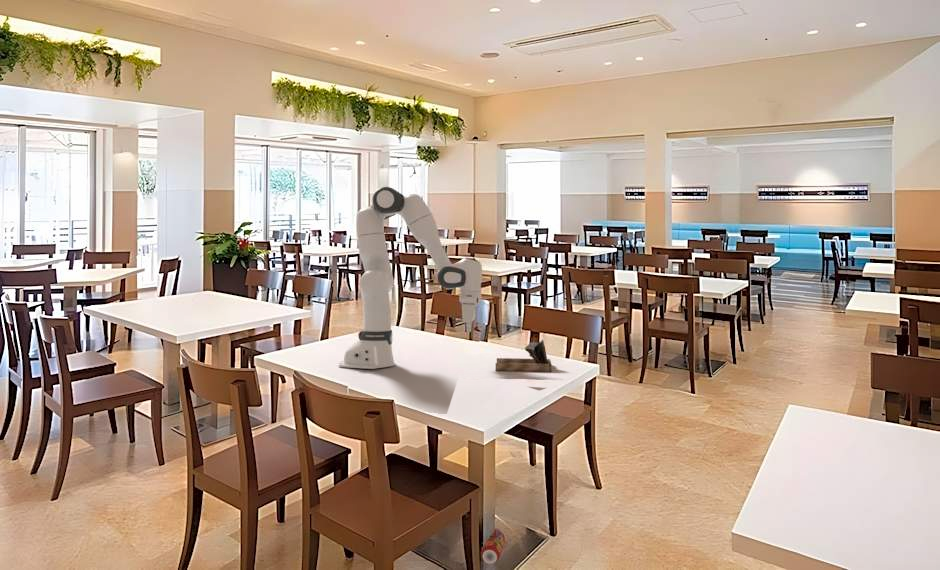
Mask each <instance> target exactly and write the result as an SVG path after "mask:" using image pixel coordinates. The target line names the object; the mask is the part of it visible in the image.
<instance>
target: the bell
mask: <svg viewBox="0 0 940 570" xmlns="http://www.w3.org/2000/svg"><path fill="white" fill-rule="evenodd" d="M524 350H525V351H526V352H527V353H528V356H529V357H531V359H534V360H535V362H536V363H538V364H548V360H547V359H548V358H547V357H548V356H547V352H546V345H545V341H544V339H542V340H541V341H538V342H530V343H529V344H527V345H526V346H525V347H524Z"/></svg>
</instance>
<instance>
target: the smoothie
mask: <svg viewBox="0 0 940 570" xmlns="http://www.w3.org/2000/svg"><path fill="white" fill-rule="evenodd" d="M505 543H506V534H505V533H504V531H503V530H502V529H501V528H498V527H494V533H492V535H491V536H490V538H489V539H488V540H487V541H486V543H485V544H484V546H483V547H482V546H481V551H480V556H481V559H482V560H483V562H484V563H486V564H488V565H494V564H496V563H497V562H498V561H499V559H500V556H501V554H502V551H503V548H504V546H505Z"/></svg>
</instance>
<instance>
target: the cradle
mask: <svg viewBox="0 0 940 570" xmlns="http://www.w3.org/2000/svg"><path fill="white" fill-rule="evenodd" d="M547 360H548V364H538V363H536V362H535V360H534V359H533V358H520V357H518V358H513V357H512V358H511V357H510V358H509V357H507V358H505V357H496V362H495V371H496V372H525V373H526V372H528V373H529V372H531V373H537V372H538V373H552V368H553V367H552V362H551V359H550V358H547Z"/></svg>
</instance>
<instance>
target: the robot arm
mask: <svg viewBox="0 0 940 570" xmlns="http://www.w3.org/2000/svg"><path fill="white" fill-rule="evenodd" d="M372 195H373V196H372V199H371V201H372V204H371V205H370V206H368V207H367V206H366V207H363V208H361V209H360V210H358V212H357V214H356V220H355V221H356V222H355V223H356V224H355V226H356V227H355V228H356V240H357V245H358V247H357V248H358V252H359V257H360V260H361V263H362V266H363V270H364V273H363V274H362V275H361V277H360V278H359V288H360V295H361V302H362V303H361V304H362V310H363V311H362V312H363V317H362V318H363V329H362V330H360V331H359V332H358V334H357V337H358V340H356V341H355V342H354V343H353V344H351V345H350V346H349V347H348V348H347V349H346V350H345V352H344V357H343V360H342V361H340V362H338V367H339V368H350V369H351V368H352V369H353V368H354V369H370V370H372V369H373V370H375V369H380V368H388V367H393V366H395V365H396V363H395V359H394V354H393V345H392V344H393V330H392V309H391V304H390V295H389V293H390V292H391V291H392V290H393V289H394V285H395V280H394V276H393V271H392V266H391V262H390V259H389V254H388V248H387V241H386V235H385V228H384V222H385V220H387V219H389V218H391V217H394V216H395V215H396V214H397V215H399V216H401V218H402V219H403V220H404V222H405V224H406V226H407V229H408V230H409V232H410V233H411V234H412V236H413V237H414V239H415V240H416V241H417V242H418V243H420V245H421V246H423V248H425V250H426V251H427V252H428V254H429V255H430V257H431V260H432V261H433V263H434V265H435V267H436V270H437V281H438V283H439V285H440V286H441V287H443V288H444V289H445V290H454V289H456V288H459V301H458V302H460V304H461V314H462V322H463V323H465V327H466V328H465V329H466V331H465V332H466V333H471V332H472V326H473V321H475V319H476V312H477V311H476V310H477V309H476V308H477V307H478V306H479V305H478V304H481V303H482V282H483V266H482V263H481V262H480V261H479V260H478V259H475V258H470V257H463V258H462V259H461V260H459V261H457V262H454V263H452V261H451V260H450V258H449V257H448V254H447V253H446V251H445V249H444V247H443V245H442V242H441V238H440V233H439V228H438V225H437V223H436V220H435V217H434V216H433V213H432V211H431V210H430V208H429V207H428V205H427V204H426V202H425V201H424V200H423V198H422V197H421V196H420V195H419V194H417V193H411V194H410V193H409V194H407V195H405V196H404V195H403V194H402V193H401V192H399V191H397V190H396V189H394V188H393V187H390V186H381V187H380V188H378V189H376V190H375V191H374V193H373V194H372Z"/></svg>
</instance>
